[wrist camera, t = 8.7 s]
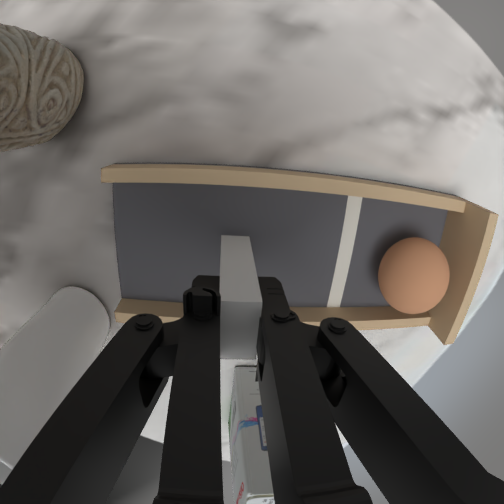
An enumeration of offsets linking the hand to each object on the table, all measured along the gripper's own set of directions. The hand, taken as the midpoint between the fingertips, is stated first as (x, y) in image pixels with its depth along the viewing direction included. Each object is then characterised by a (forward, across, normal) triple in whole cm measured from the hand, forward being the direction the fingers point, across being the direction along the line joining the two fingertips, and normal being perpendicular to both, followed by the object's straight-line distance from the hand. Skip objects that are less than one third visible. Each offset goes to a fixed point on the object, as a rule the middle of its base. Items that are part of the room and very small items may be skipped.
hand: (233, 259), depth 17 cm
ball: (+2, +13, 0) cm, 13 cm away
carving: (+3, -13, +10) cm, 17 cm away
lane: (+3, +4, 0) cm, 5 cm away
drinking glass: (+3, -12, -7) cm, 14 cm away
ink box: (+3, +3, -15) cm, 16 cm away
